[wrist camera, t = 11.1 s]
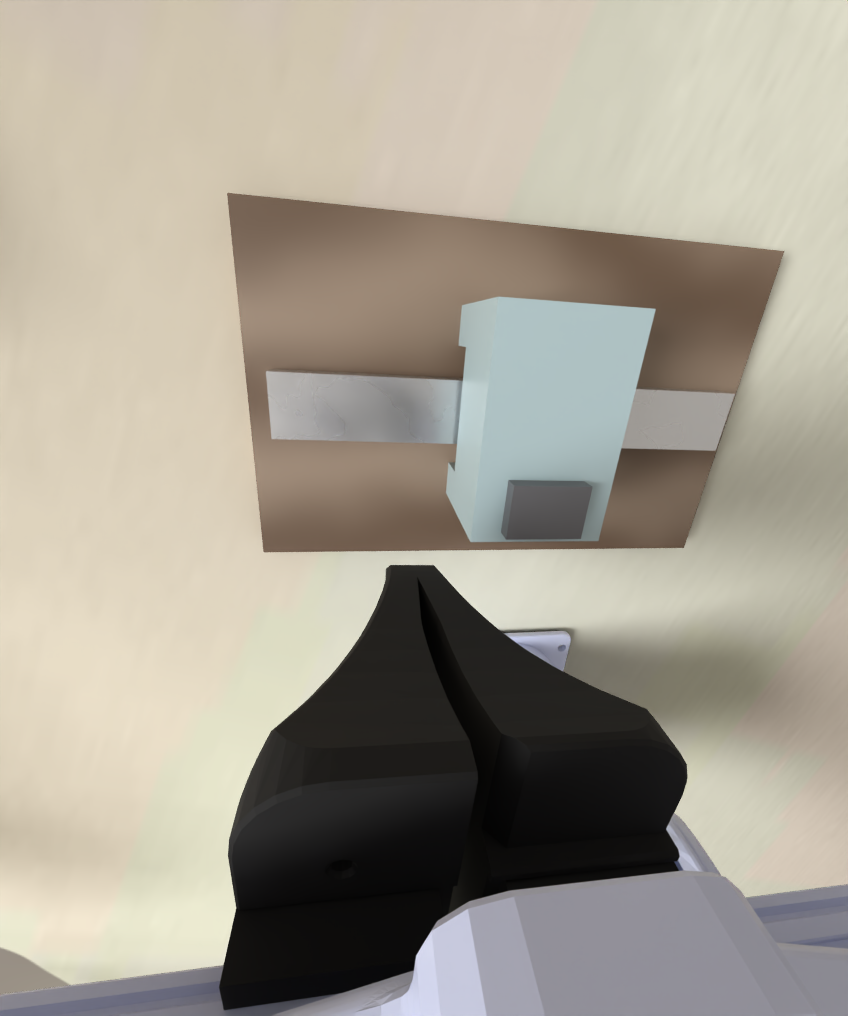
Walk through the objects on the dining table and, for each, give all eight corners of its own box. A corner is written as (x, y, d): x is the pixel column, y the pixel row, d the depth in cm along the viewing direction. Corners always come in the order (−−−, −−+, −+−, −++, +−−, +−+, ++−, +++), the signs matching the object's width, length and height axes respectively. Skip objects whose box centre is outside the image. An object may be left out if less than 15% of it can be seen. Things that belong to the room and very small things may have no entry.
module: (546, 493, 20) (606, 548, 15) (446, 492, 20) (474, 549, 15) (579, 314, 17) (668, 307, 12) (461, 305, 17) (504, 295, 12)
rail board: (671, 539, 24) (696, 556, 22) (268, 542, 21) (258, 563, 19) (763, 255, 18) (807, 247, 17) (235, 201, 15) (218, 183, 13)
